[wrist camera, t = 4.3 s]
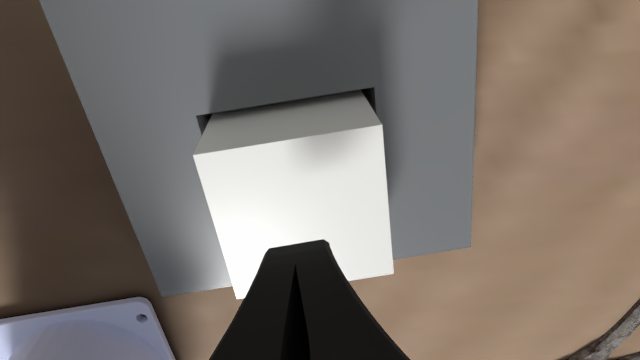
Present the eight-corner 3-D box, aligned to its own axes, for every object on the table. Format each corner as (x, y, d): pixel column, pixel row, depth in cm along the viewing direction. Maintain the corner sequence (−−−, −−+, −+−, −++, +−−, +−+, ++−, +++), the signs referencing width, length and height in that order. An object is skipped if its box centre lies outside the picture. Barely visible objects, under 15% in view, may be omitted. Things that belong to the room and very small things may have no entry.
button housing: (444, 207, 19) (470, 246, 16) (178, 250, 19) (161, 297, 16) (441, -342, 11) (490, -437, 8) (-11, -271, 11) (-104, -345, 8)
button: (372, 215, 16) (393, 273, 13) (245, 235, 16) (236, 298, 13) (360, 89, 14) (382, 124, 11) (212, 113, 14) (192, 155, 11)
